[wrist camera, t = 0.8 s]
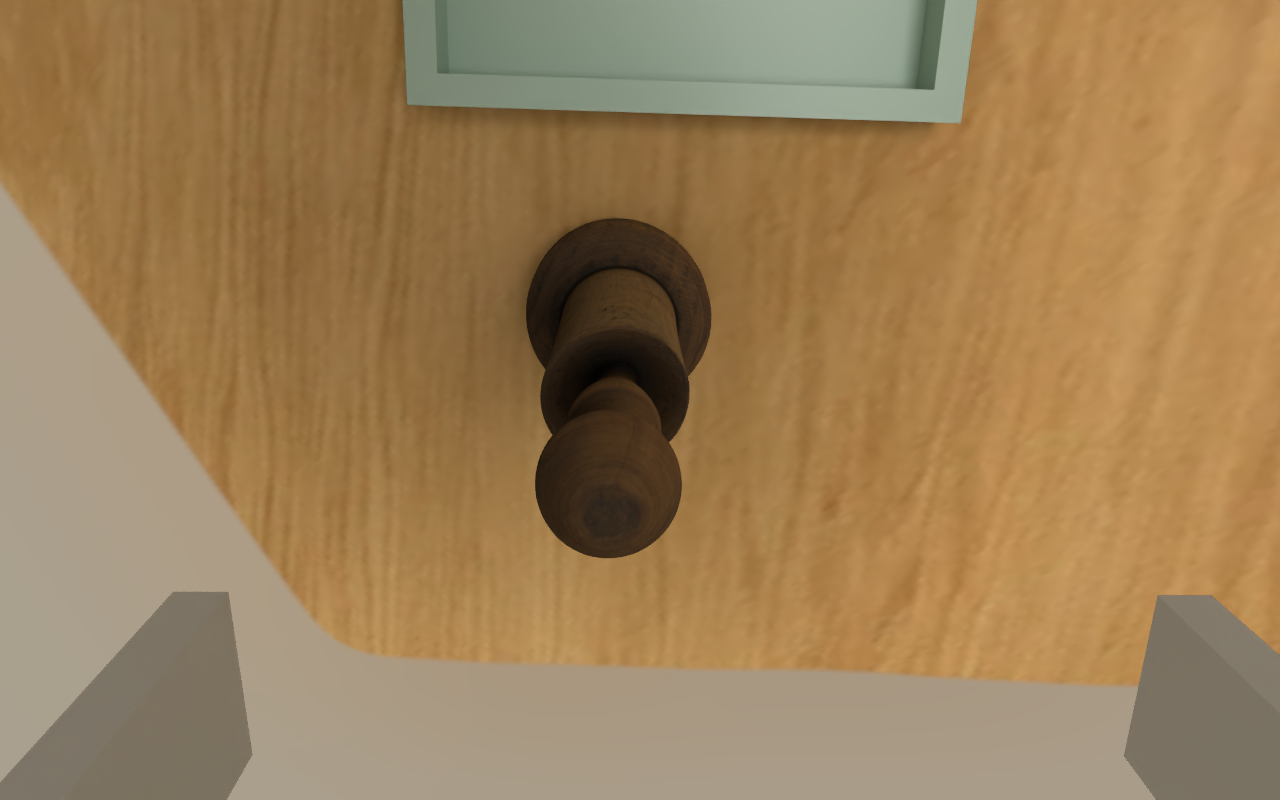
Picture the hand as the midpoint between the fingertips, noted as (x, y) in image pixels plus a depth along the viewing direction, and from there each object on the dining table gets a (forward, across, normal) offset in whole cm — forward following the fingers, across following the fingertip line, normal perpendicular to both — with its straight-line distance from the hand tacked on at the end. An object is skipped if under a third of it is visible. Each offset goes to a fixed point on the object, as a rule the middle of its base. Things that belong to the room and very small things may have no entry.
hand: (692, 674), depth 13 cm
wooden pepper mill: (+23, -1, 0) cm, 23 cm away
